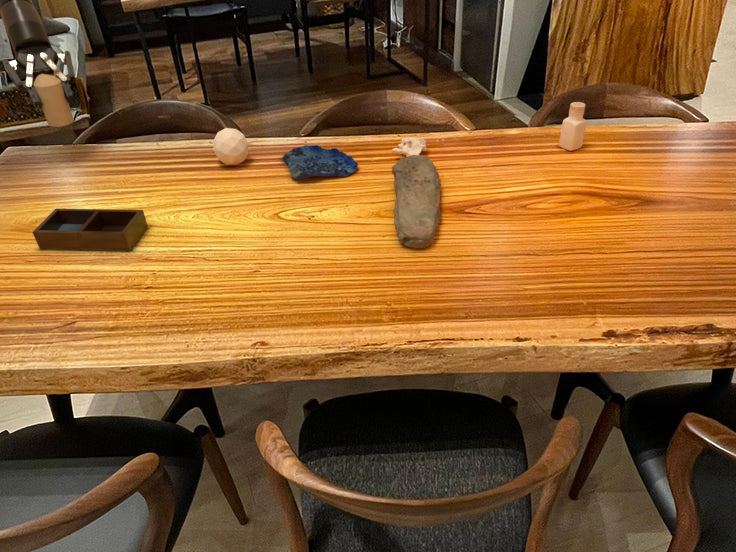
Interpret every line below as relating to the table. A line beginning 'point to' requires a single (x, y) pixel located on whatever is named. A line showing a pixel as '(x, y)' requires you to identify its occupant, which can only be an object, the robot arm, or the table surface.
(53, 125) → the candle
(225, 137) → the geometric ball
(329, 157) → the rock
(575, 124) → the pepper shaker
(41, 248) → the box
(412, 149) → the pelvis model
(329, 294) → the table surface
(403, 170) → the long grey stone
